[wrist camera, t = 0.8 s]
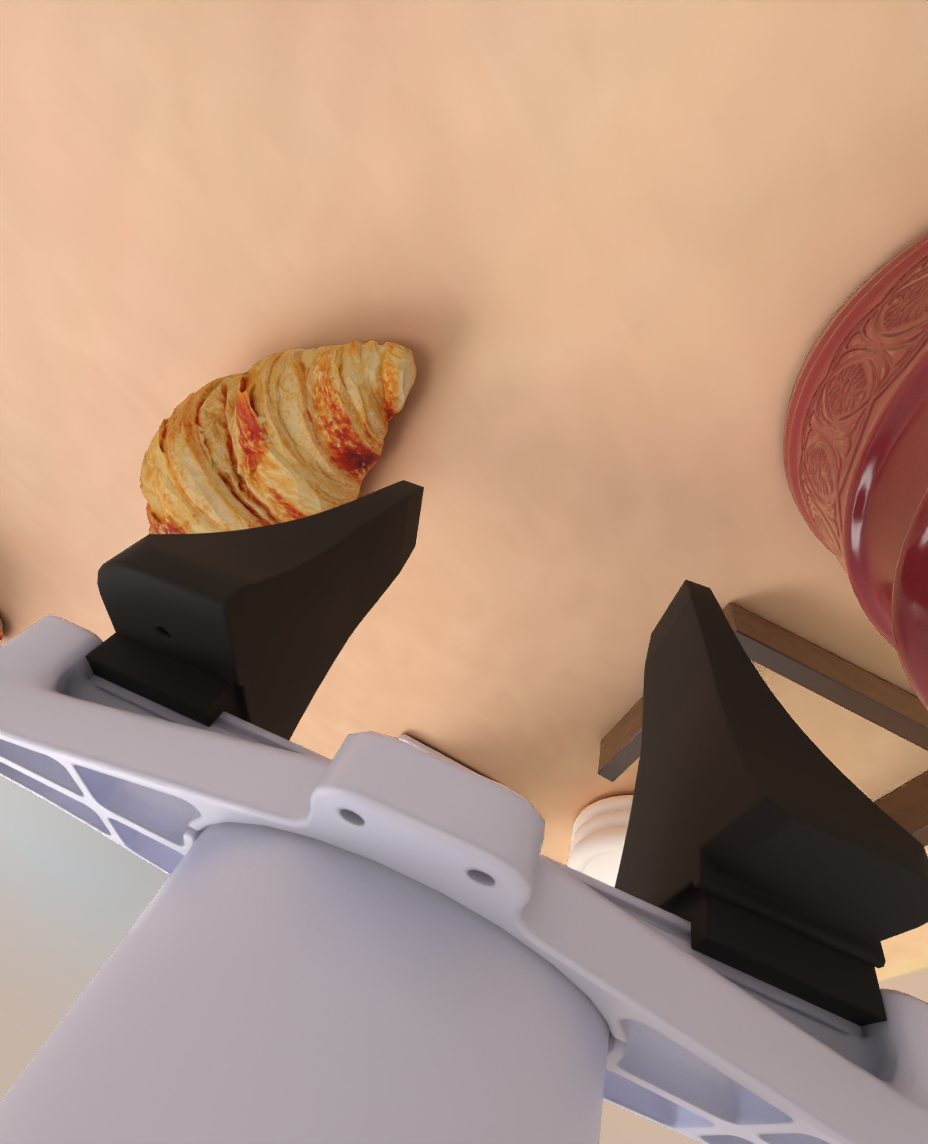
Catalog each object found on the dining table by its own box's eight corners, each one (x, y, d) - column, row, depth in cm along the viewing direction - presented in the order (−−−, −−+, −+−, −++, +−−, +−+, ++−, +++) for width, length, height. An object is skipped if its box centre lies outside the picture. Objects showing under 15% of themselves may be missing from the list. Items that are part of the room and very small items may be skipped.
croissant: (412, 287, 24) (272, 191, 18) (496, 467, 23) (375, 438, 16) (197, 503, 35) (57, 495, 28) (242, 637, 33) (104, 663, 26)
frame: (813, 855, 30) (825, 896, 28) (600, 741, 30) (597, 774, 29) (1010, 744, 23) (1044, 787, 21) (730, 601, 24) (737, 630, 22)
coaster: (547, 837, 37) (539, 885, 34) (622, 766, 31) (620, 817, 28) (671, 906, 36) (673, 961, 33) (770, 847, 30) (783, 907, 28)
